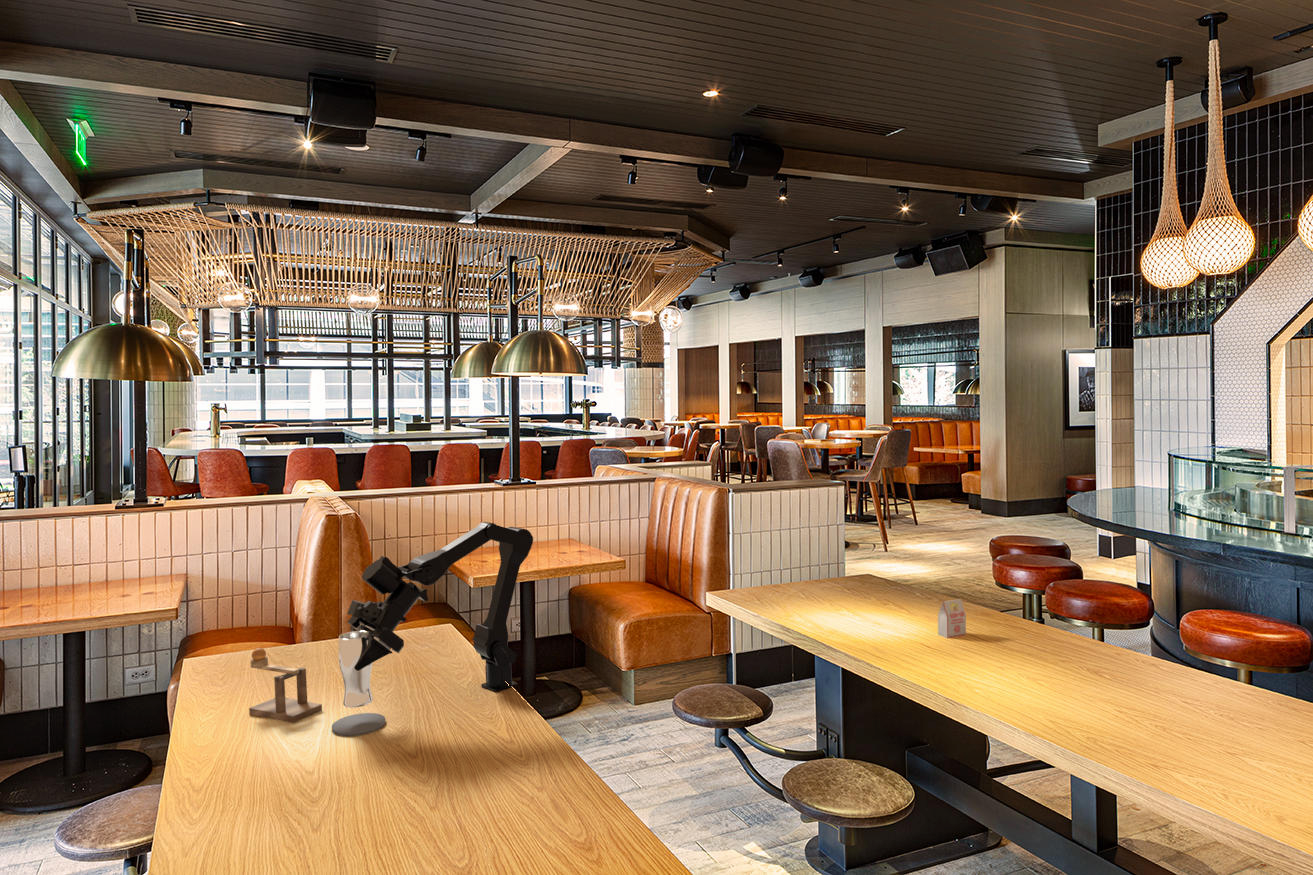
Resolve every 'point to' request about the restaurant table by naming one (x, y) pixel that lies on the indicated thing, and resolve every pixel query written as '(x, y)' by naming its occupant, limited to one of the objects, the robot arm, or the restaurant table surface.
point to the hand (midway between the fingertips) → (349, 666)
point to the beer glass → (353, 679)
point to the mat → (358, 724)
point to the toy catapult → (283, 693)
